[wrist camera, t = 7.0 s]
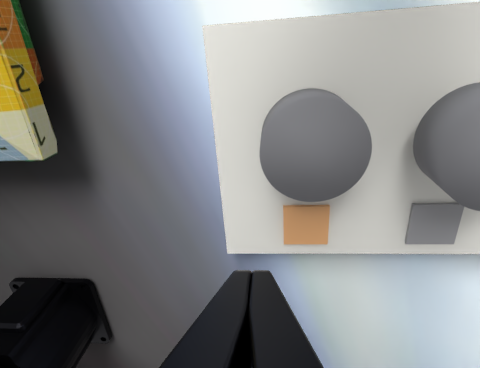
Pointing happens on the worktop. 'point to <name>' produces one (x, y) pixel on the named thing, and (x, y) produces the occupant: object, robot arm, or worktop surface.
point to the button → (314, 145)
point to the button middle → (452, 145)
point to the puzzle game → (21, 93)
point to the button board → (362, 101)
